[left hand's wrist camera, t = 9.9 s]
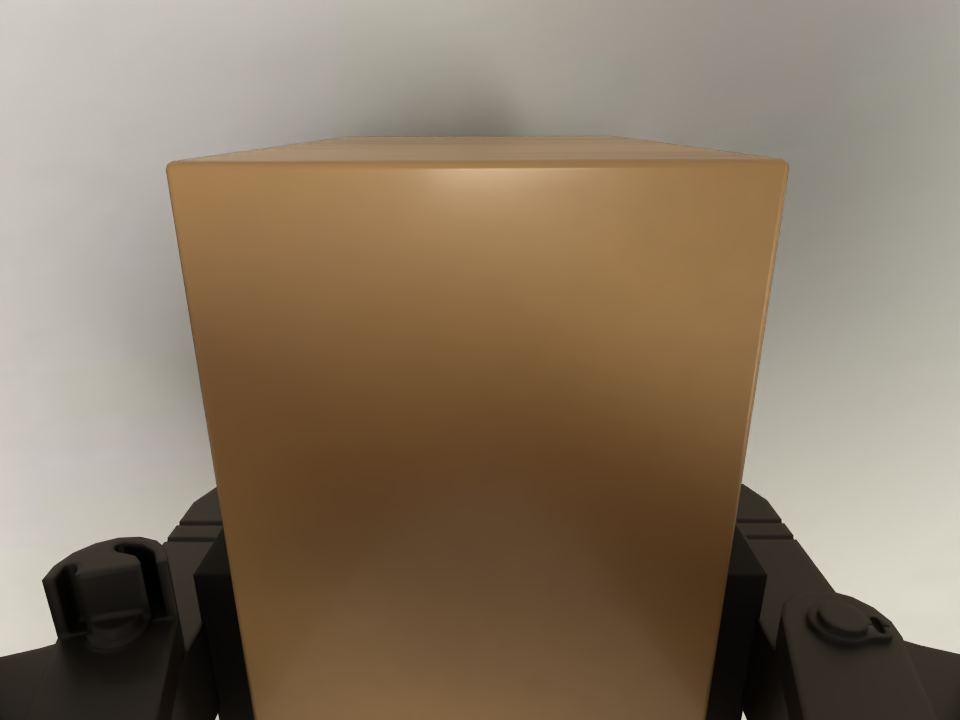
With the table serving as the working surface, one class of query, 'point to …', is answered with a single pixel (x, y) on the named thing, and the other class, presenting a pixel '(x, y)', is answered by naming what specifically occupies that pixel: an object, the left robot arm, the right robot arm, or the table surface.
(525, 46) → the table surface
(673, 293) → the post
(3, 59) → the table surface
